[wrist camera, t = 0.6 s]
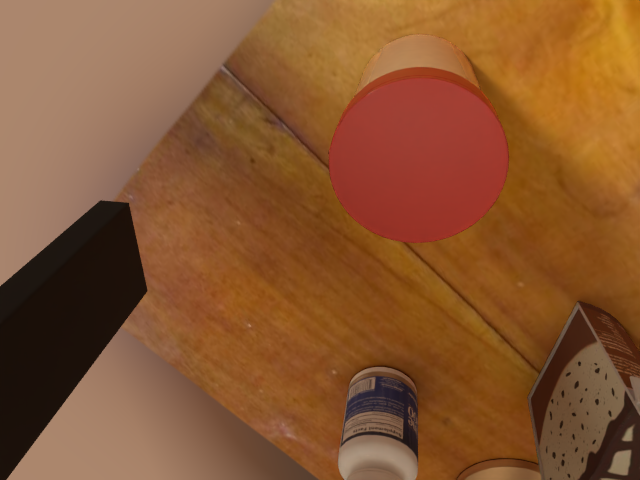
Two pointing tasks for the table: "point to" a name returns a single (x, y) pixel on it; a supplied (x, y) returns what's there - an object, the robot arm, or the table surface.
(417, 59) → the jar
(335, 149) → the jar lid
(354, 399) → the pill bottle
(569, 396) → the food container
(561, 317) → the table surface
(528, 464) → the coaster
